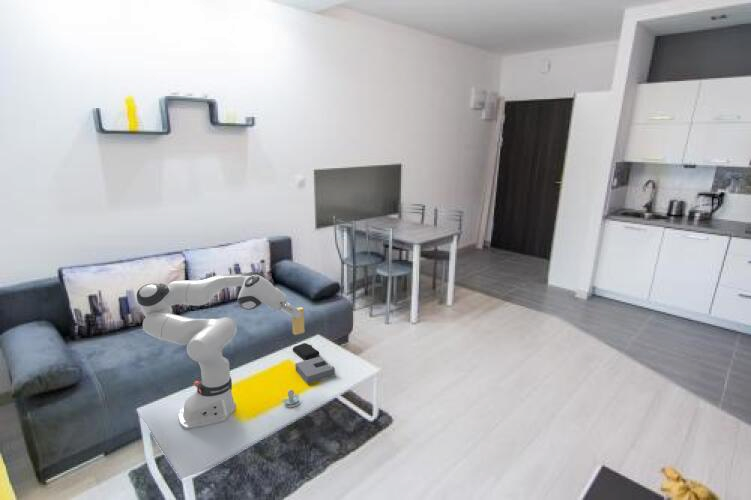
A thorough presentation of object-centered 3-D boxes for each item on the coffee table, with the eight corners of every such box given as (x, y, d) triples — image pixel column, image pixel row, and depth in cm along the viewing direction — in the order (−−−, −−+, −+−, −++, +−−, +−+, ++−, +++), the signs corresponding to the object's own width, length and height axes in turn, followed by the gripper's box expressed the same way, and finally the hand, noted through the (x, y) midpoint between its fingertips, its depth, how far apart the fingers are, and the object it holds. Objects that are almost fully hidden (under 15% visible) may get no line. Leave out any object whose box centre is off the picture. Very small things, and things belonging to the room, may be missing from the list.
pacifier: (302, 405, 178) (296, 397, 183) (302, 392, 176) (296, 385, 181) (286, 410, 174) (281, 402, 179) (286, 398, 172) (281, 390, 177)
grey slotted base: (307, 384, 193) (307, 375, 192) (295, 370, 204) (295, 362, 203) (334, 375, 201) (334, 367, 200) (322, 362, 213) (322, 354, 211)
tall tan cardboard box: (295, 335, 189) (293, 310, 186) (292, 333, 191) (291, 309, 188) (304, 332, 192) (303, 308, 189) (302, 330, 194) (301, 307, 191)
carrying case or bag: (322, 355, 220) (307, 345, 231) (322, 350, 220) (307, 340, 230) (305, 361, 213) (291, 351, 224) (305, 356, 213) (291, 346, 223)
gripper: (291, 299, 174) (311, 316, 182) (271, 289, 190) (291, 304, 198) (282, 311, 173) (303, 327, 180) (263, 300, 188) (283, 315, 196)
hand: (297, 315), depth 189 cm, fingers closed on tall tan cardboard box, 2 cm apart
